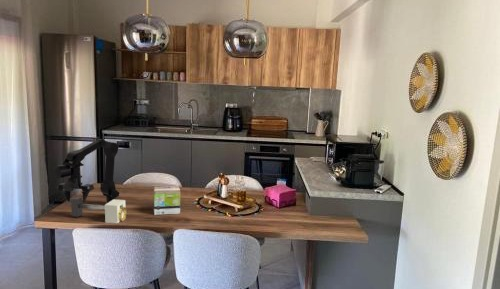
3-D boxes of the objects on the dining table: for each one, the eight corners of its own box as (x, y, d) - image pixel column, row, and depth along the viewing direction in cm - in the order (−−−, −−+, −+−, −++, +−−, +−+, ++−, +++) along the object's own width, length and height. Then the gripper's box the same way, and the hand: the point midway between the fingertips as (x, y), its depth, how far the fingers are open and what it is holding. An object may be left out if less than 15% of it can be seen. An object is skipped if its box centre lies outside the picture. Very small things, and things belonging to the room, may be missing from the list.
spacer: (124, 217, 216) (124, 205, 215) (126, 218, 216) (126, 205, 215) (118, 222, 209) (118, 209, 208) (120, 222, 209) (120, 209, 208)
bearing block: (114, 216, 218) (113, 199, 217) (125, 217, 218) (125, 200, 216) (105, 222, 209) (104, 204, 207) (117, 223, 208) (117, 205, 206)
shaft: (75, 213, 218) (75, 196, 216) (119, 216, 215) (118, 199, 213) (71, 216, 214) (70, 198, 212) (115, 219, 211) (115, 201, 209)
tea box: (154, 215, 221) (153, 191, 219) (153, 210, 231) (153, 186, 228) (180, 213, 225) (180, 189, 223) (178, 208, 235) (178, 185, 232)
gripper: (50, 177, 205) (51, 205, 208) (82, 179, 203) (84, 207, 205) (62, 172, 216) (64, 199, 219) (93, 174, 214) (95, 201, 216)
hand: (76, 201), depth 215 cm, fingers open, 9 cm apart
